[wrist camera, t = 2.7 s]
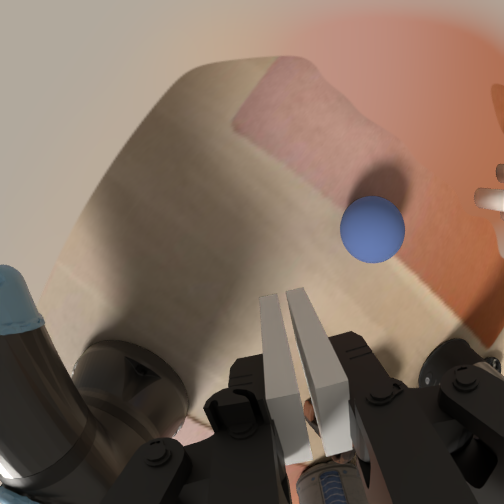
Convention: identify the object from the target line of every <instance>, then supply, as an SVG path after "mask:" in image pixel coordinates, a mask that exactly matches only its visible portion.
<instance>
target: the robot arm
mask: <svg viewBox="0 0 504 504" xmlns="http://www.w3.org/2000/svg"><path fill="white" fill-rule="evenodd" d="M286 296H287V300H288V305H289V310H290V315H291V319H292V324H293V329H294V334H295V339H296V344H297V348H298V352H299V355H300V359H301V363H302V366H303V370H304V374H305V378H306V381H307V385H308V389H309V393H310V397H311V400H312V404H313V408H314V412H315V416H316V420H317V423H318V427H319V431H320V435H321V439H322V443H323V447H324V451H325V455H326V457H327V456H331V455H335V454H339V453H343V452H346V451H350V450H352V442H353V445H354V448H355V450H356V463H357V477H359V476H361V480H362V483H363V486H364V490H365V493H366V497H367V500H368V503H369V504H504V381H503V380H501V379H500V378H498V377H496V376H494V375H493V374H491V373H489V372H488V371H486V370H484V369H482V368H480V367H477V366H475V365H460V366H455V367H453V368H451V369H449V370H448V371H447V372H446V373H445V374H444V375H443V376H442V379H441V381H440V385H436V386H430V387H424V388H408V387H407V386H406V385H405V384H404V383H403V382H402V381H400V380H397V379H394V378H390V377H389V375H388V374H387V372H386V371H385V369H384V368H383V367H382V365H381V364H380V362H379V361H378V359H377V358H376V356H375V355H374V353H372V350H371V349H370V347H369V346H368V345H367V343H366V342H365V340H364V339H363V337H362V336H360V335H358V334H356V333H354V332H352V331H350V332H346V333H343V334H339V335H335V336H332V337H328V336H327V334H326V332H325V330H324V328H323V326H322V324H321V322H320V320H319V318H318V316H317V314H316V312H315V310H314V308H313V306H312V304H311V302H310V300H309V298H308V296H307V294H306V292H305V290H304V288H303V287H302V288H297V289H293V290H289V291H286ZM259 301H260V316H261V332H262V347H263V354H259V355H254V356H249V357H244V358H238V359H237V360H236V361H235V362H234V364H233V365H232V366H231V368H230V375H229V383H228V387H229V388H226V389H222V390H221V391H219V392H217V393H215V394H213V395H212V396H211V397H210V398H209V399H208V400H207V401H206V403H205V405H204V407H203V409H204V411H205V413H206V416H207V418H208V420H209V422H210V424H211V426H212V428H213V430H214V435H212V436H211V437H209V438H207V439H205V440H202V441H200V442H197V443H193V444H190V445H187V446H183V445H182V444H181V443H180V442H178V441H177V440H175V439H172V437H174V436H175V435H176V434H177V433H178V432H179V431H180V429H181V428H182V426H183V424H184V421H185V417H186V414H187V410H188V397H187V393H186V390H185V387H184V385H183V383H182V381H181V380H180V378H179V377H178V375H177V374H176V373H175V372H174V371H173V369H172V368H171V367H170V366H169V365H168V364H166V363H165V362H164V361H163V360H162V359H160V358H159V357H158V356H156V355H155V354H153V353H151V352H150V351H148V350H146V349H144V348H142V347H140V346H137V345H134V344H131V343H128V342H123V341H114V340H110V341H102V342H98V343H96V344H94V345H92V346H90V347H89V348H88V349H87V350H86V351H85V352H84V353H83V354H82V355H81V356H80V358H79V359H78V360H77V362H76V363H75V365H74V368H73V372H72V379H71V377H70V375H69V374H68V372H67V370H66V368H65V366H64V364H63V362H62V360H61V359H60V357H59V355H58V353H57V351H56V349H55V347H54V344H53V342H52V340H51V338H50V336H49V334H48V332H47V329H46V327H45V325H44V324H45V321H44V318H43V316H42V315H41V314H40V313H39V312H38V310H37V308H36V306H35V303H34V301H33V299H32V296H31V294H30V292H29V289H28V287H27V284H26V282H25V280H24V278H23V276H22V275H21V273H20V272H19V271H18V270H16V269H15V268H13V267H11V266H8V265H0V481H1V482H2V485H1V486H0V503H2V504H292V499H291V492H290V485H289V479H288V476H287V473H286V469H285V464H286V465H290V464H296V463H301V462H306V461H310V460H313V457H312V452H311V447H310V442H309V437H308V432H307V427H306V422H305V417H304V412H303V408H302V403H301V398H300V393H299V388H298V384H297V379H296V375H295V370H294V366H293V361H292V357H291V352H290V348H289V343H288V339H287V335H286V330H285V326H284V321H283V317H282V313H281V308H280V304H279V300H278V295H277V293H276V294H272V295H267V296H263V297H259Z"/></svg>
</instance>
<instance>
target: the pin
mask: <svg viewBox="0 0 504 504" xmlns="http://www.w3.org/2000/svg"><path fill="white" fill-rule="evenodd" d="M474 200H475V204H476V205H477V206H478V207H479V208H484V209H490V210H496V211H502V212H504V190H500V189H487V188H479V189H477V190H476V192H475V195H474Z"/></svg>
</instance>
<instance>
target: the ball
mask: <svg viewBox="0 0 504 504" xmlns="http://www.w3.org/2000/svg"><path fill="white" fill-rule="evenodd" d="M340 234H341V239H342V241H343V244H344V246H345V248H346V249H347V250H348V252H349V253H350V254H351V255H352V256H354V257H355V258H357V259H358V260H360V261H363V262H366V263H379V262H383V261H386V260H388V259H389V258H391V257H392V256H393V255H395V254H396V253H397V251H398V250H399V249H400V247H401V245H402V243H403V240H404V235H405V225H404V220H403V217H402V215H401V213H400V211H399V210H398V209H397V207H396V206H395V205H394V204H393V203H391V202H390V201H388V200H387V199H385V198H382V197H378V196H366V197H362V198H360V199H358V200H356V201H354V202H353V203H352V204H351V205H350V206H349V207H348V208H347V209H346V211H345V212H344V214H343V217H342V220H341V225H340Z"/></svg>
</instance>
